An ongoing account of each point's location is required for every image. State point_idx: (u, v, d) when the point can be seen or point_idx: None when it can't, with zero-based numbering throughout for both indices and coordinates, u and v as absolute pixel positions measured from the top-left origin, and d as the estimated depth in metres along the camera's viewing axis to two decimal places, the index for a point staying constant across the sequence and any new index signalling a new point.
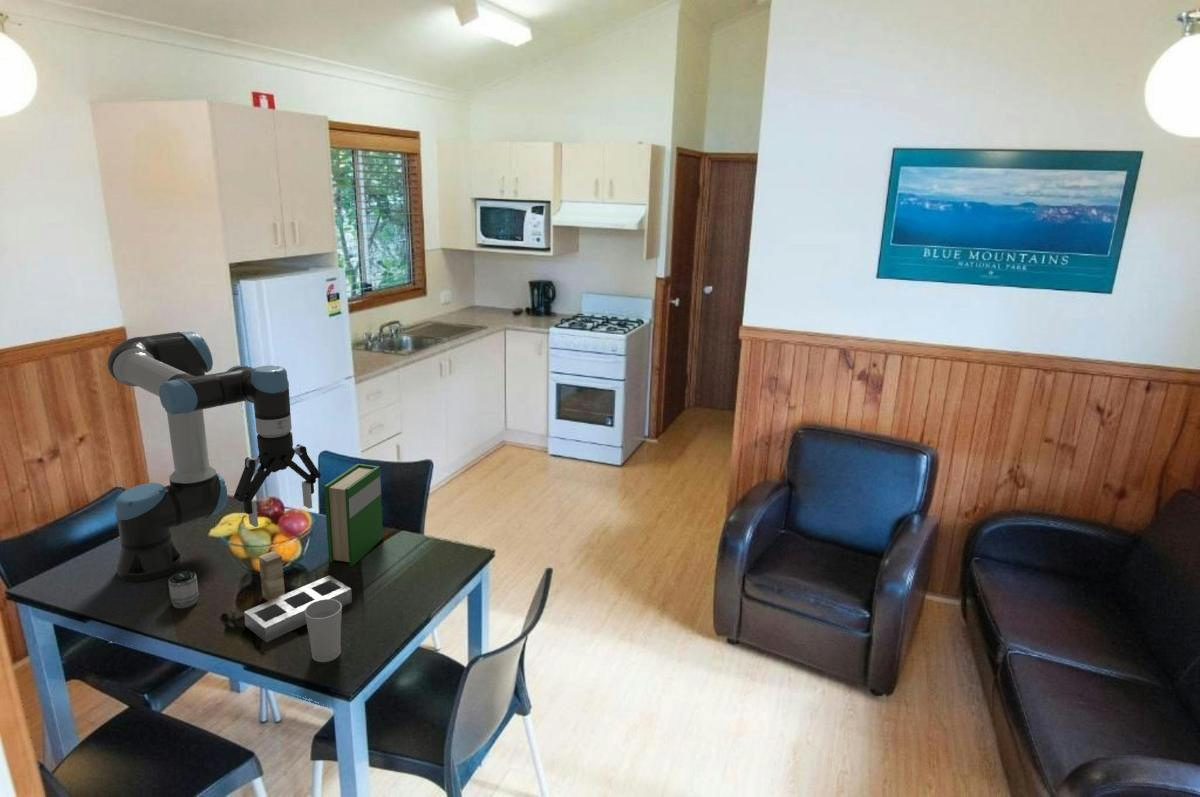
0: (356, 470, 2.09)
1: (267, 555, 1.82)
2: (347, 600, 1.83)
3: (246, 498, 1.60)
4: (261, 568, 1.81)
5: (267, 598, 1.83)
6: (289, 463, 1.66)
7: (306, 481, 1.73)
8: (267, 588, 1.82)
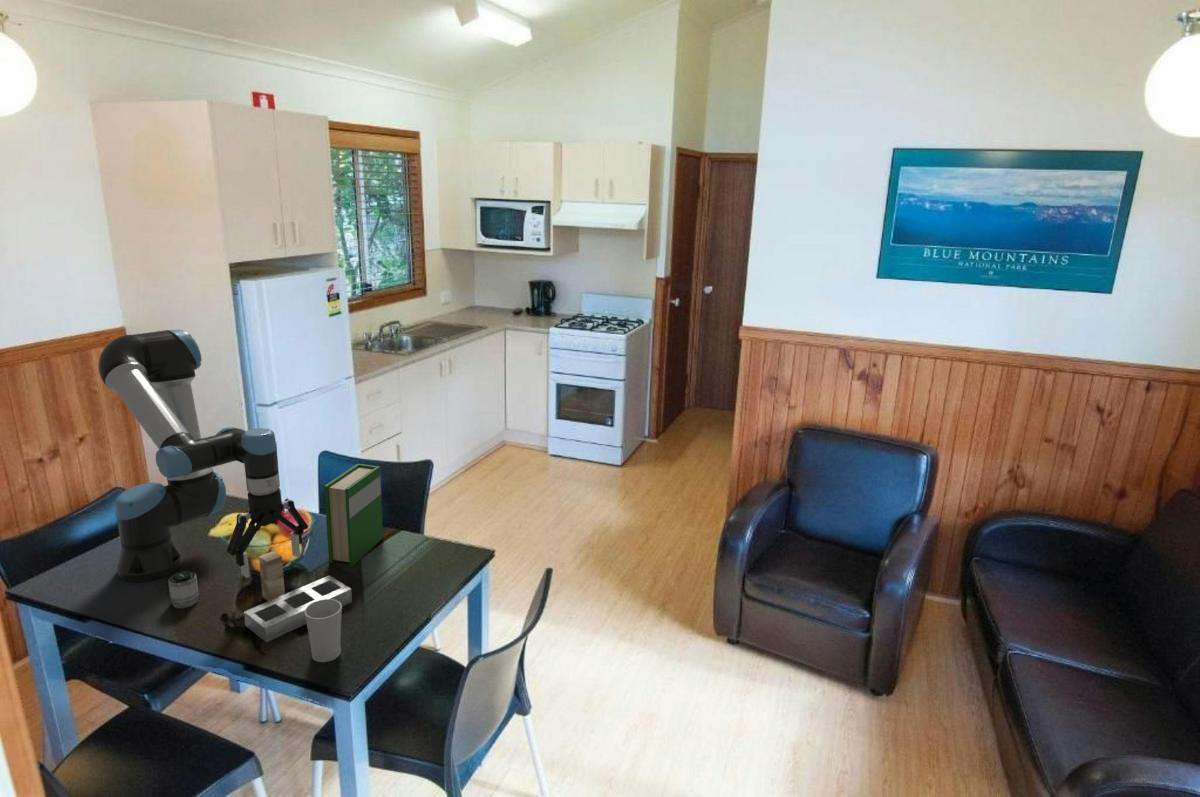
0: (356, 470, 2.09)
1: (267, 555, 1.82)
2: (347, 600, 1.83)
3: (238, 552, 1.73)
4: (261, 568, 1.81)
5: (267, 598, 1.83)
6: (278, 517, 1.79)
7: (294, 532, 1.86)
8: (267, 588, 1.82)
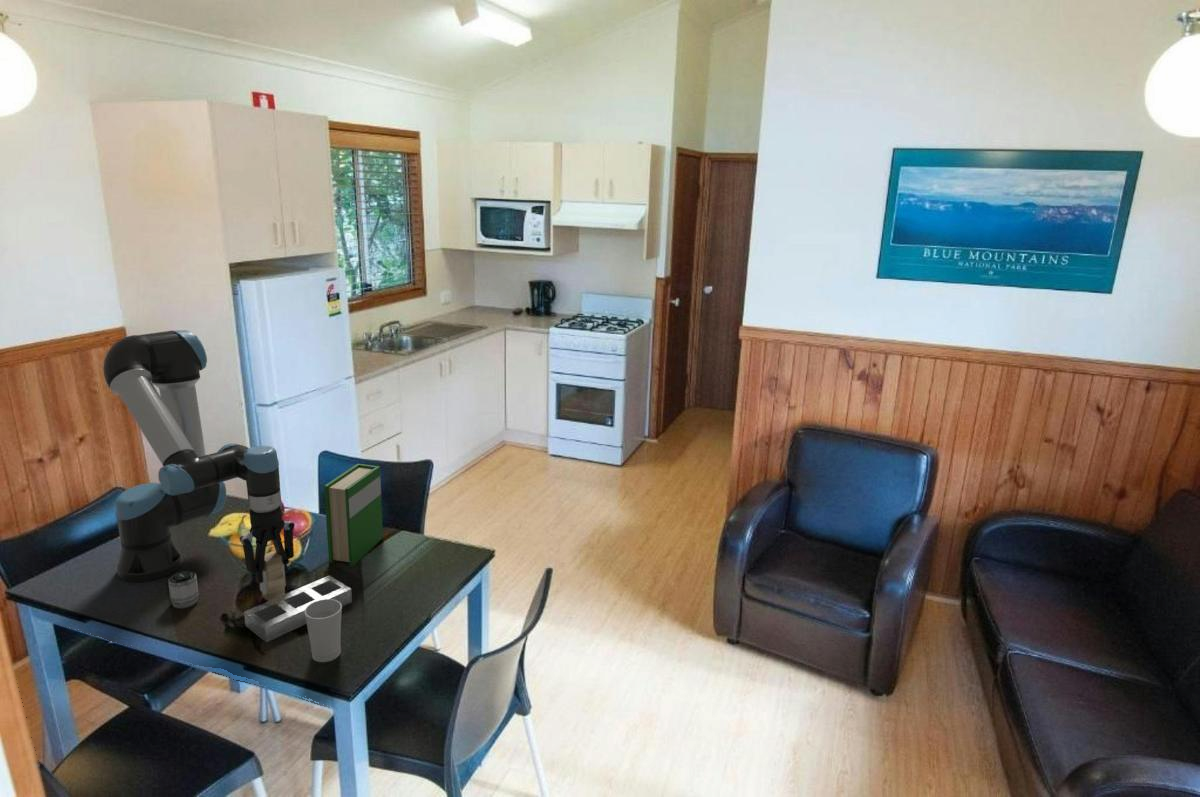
0: (356, 470, 2.09)
1: (267, 555, 1.82)
2: (347, 600, 1.83)
3: (257, 570, 1.78)
4: None
5: (267, 598, 1.83)
6: (276, 535, 1.80)
7: None
8: None
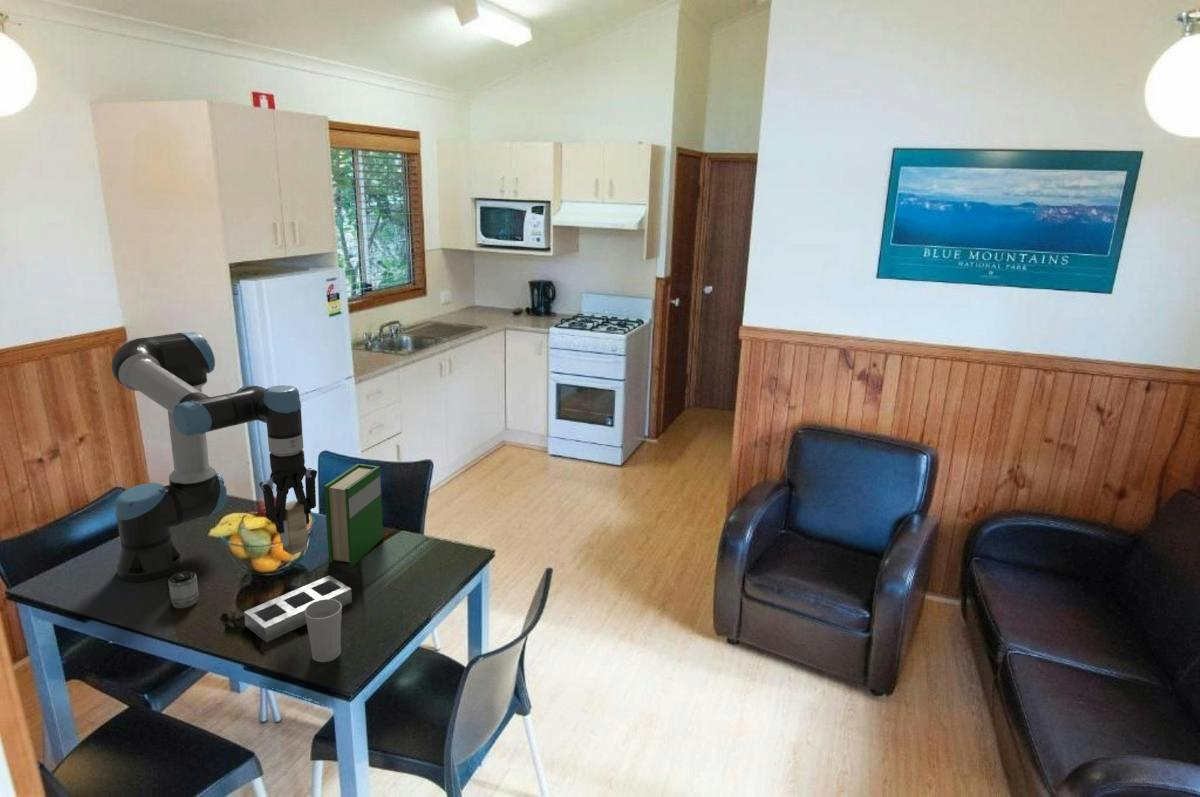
0: (356, 470, 2.09)
1: (288, 504, 1.70)
2: (347, 600, 1.83)
3: (278, 519, 1.67)
4: None
5: (288, 550, 1.71)
6: (298, 483, 1.68)
7: None
8: None
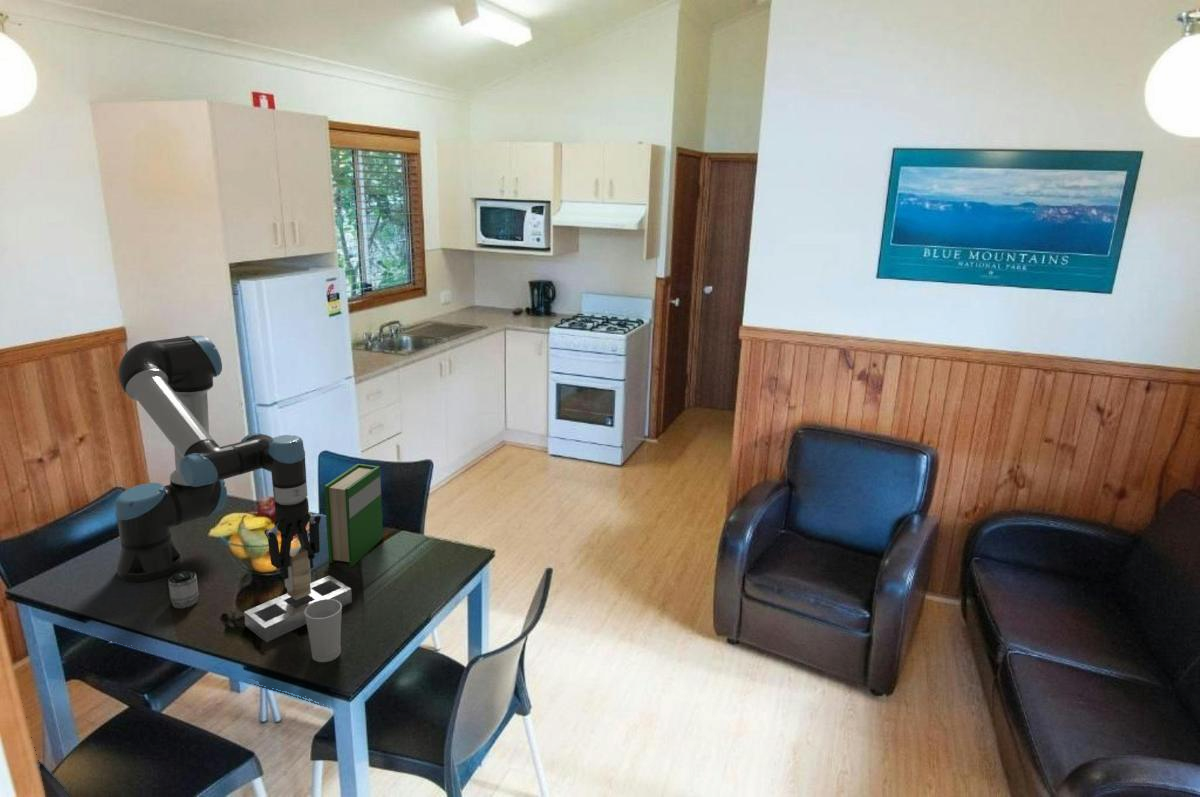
0: (356, 470, 2.09)
1: (292, 550, 1.73)
2: (347, 600, 1.83)
3: (282, 566, 1.70)
4: None
5: (292, 595, 1.74)
6: (302, 529, 1.72)
7: None
8: None
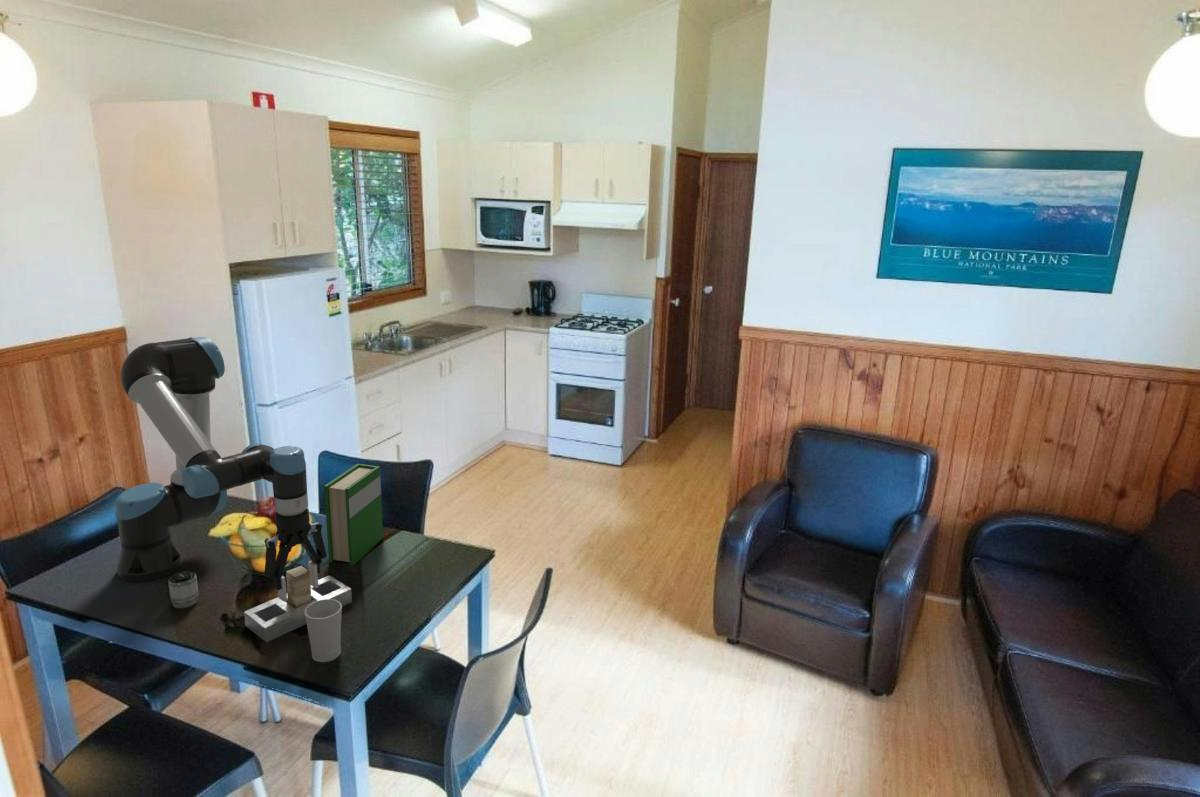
0: (356, 470, 2.09)
1: (295, 570, 1.75)
2: (347, 600, 1.83)
3: (276, 576, 1.70)
4: (288, 583, 1.75)
5: None
6: (304, 539, 1.73)
7: (312, 561, 1.78)
8: (294, 604, 1.75)
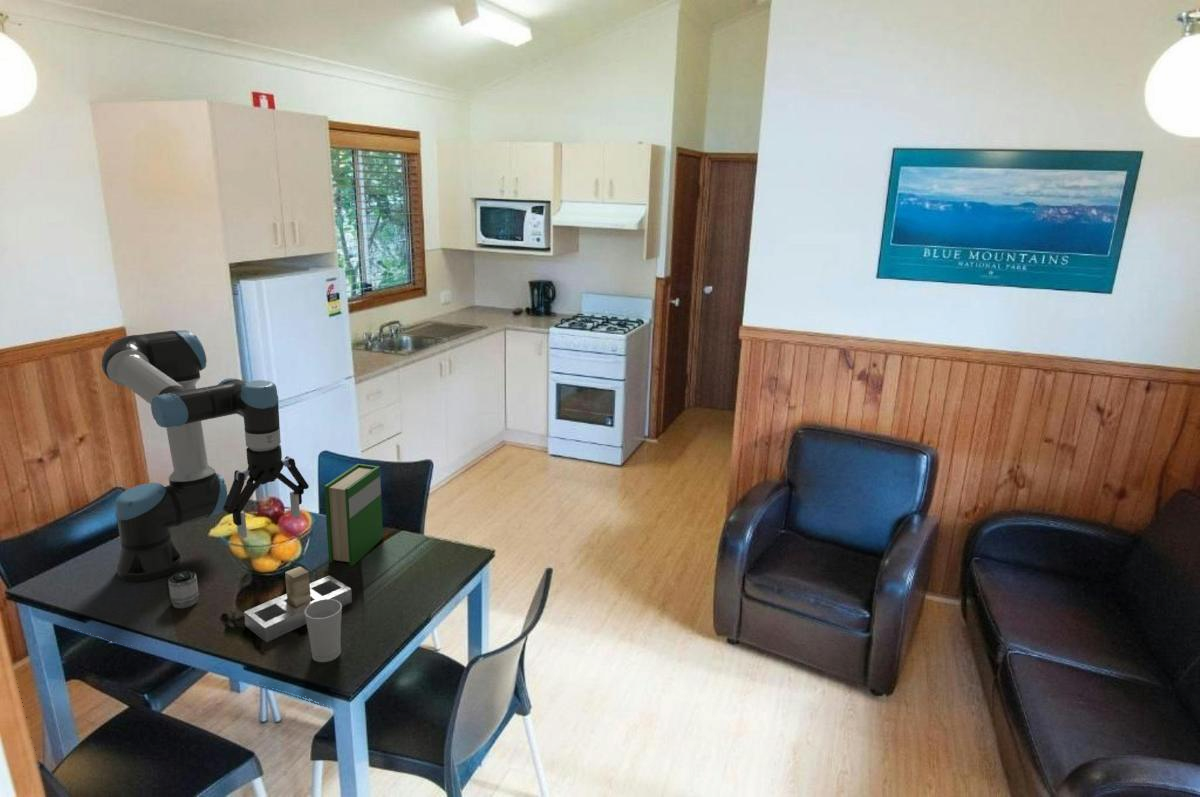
0: (356, 470, 2.09)
1: (294, 571, 1.75)
2: (347, 600, 1.83)
3: (235, 510, 1.64)
4: (287, 584, 1.75)
5: None
6: (278, 475, 1.70)
7: (294, 492, 1.77)
8: (294, 605, 1.75)
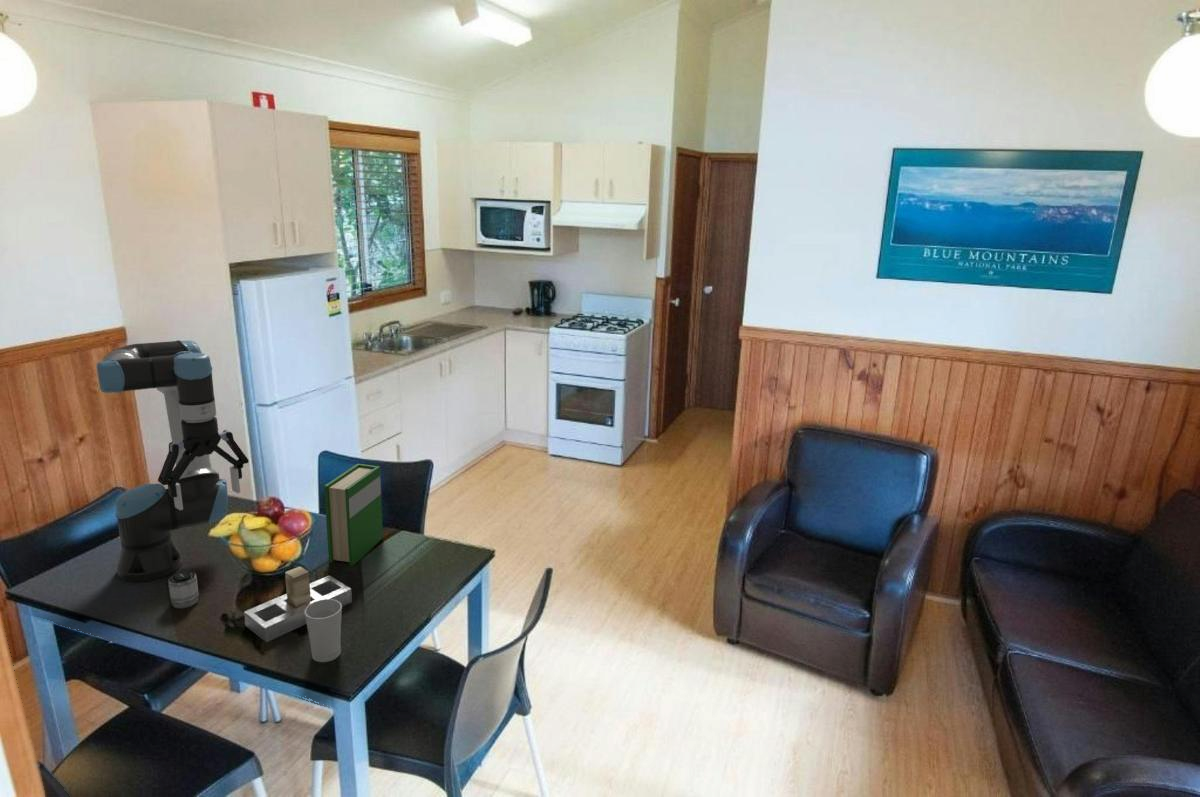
0: (356, 470, 2.09)
1: (294, 571, 1.75)
2: (347, 600, 1.83)
3: (170, 482, 1.65)
4: (287, 584, 1.75)
5: None
6: (214, 448, 1.70)
7: (234, 466, 1.77)
8: (294, 605, 1.75)
